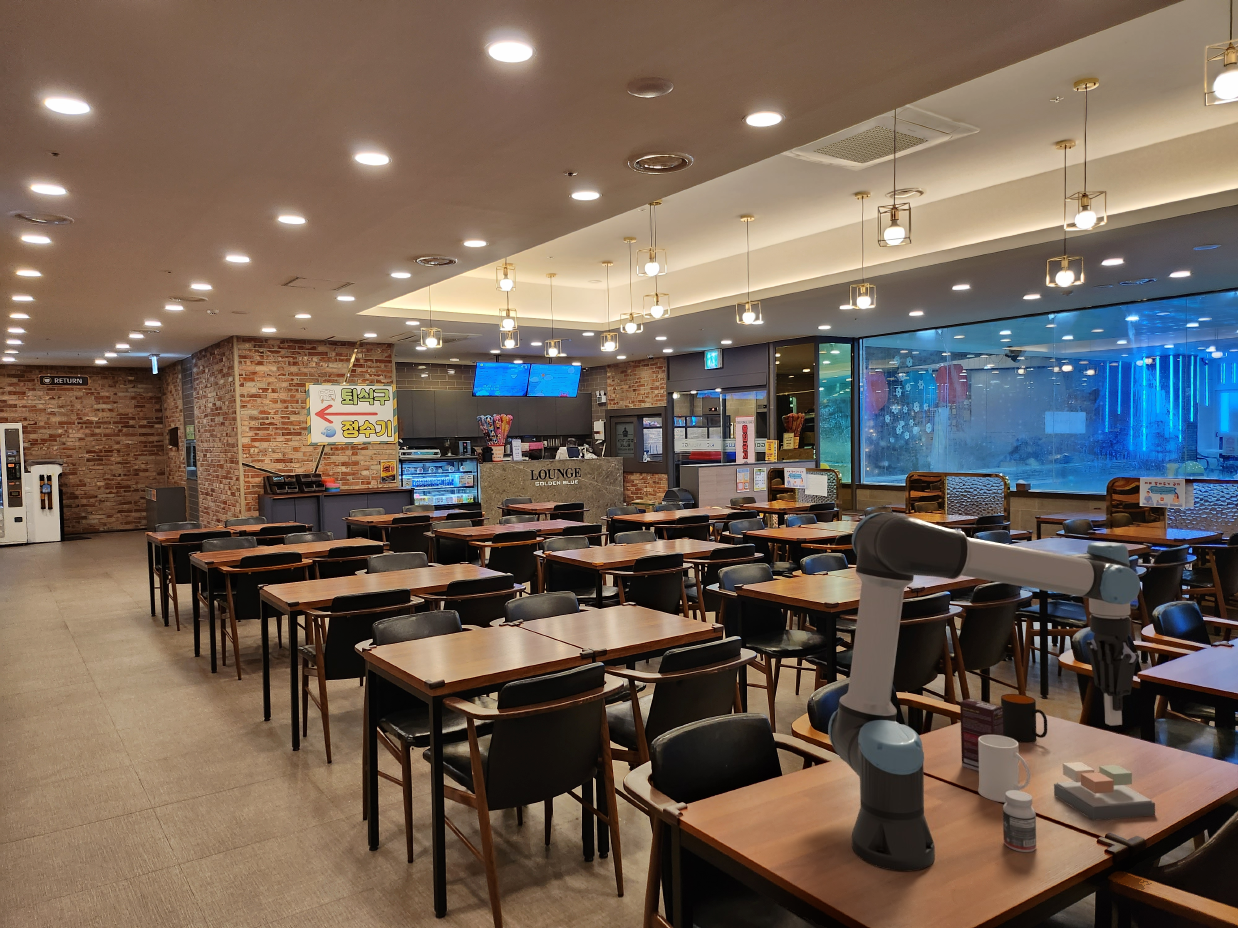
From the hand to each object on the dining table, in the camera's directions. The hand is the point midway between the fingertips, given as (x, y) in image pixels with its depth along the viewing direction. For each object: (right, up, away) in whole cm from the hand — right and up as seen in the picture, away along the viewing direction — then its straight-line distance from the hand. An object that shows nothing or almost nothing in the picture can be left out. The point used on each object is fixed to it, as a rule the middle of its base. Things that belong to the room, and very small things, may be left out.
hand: (1113, 723), depth 167 cm
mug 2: (-21, -18, +5) cm, 28 cm away
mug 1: (+1, -17, +39) cm, 42 cm away
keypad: (-2, -18, 0) cm, 18 cm away
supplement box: (-19, -18, +20) cm, 33 cm away
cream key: (-6, -13, +2) cm, 14 cm away
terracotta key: (-6, -13, -3) cm, 14 cm away
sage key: (+1, -12, 0) cm, 12 cm away
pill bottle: (-29, -19, -16) cm, 38 cm away
